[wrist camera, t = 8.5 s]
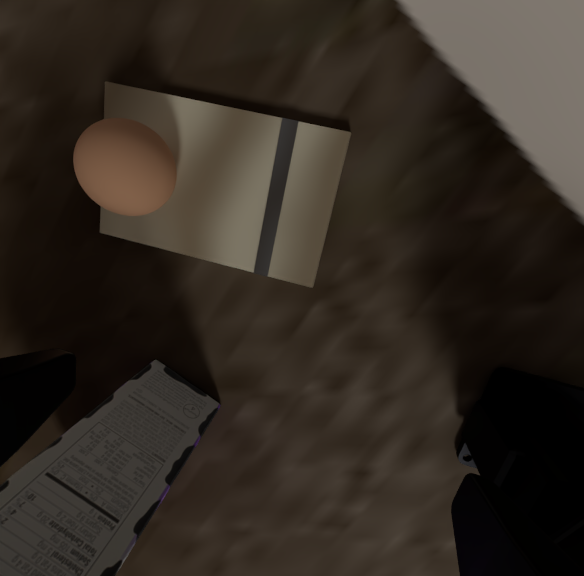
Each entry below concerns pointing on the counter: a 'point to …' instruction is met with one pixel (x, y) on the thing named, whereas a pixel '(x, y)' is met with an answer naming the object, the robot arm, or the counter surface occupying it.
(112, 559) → the candy box
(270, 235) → the board
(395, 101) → the counter surface
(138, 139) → the ball
